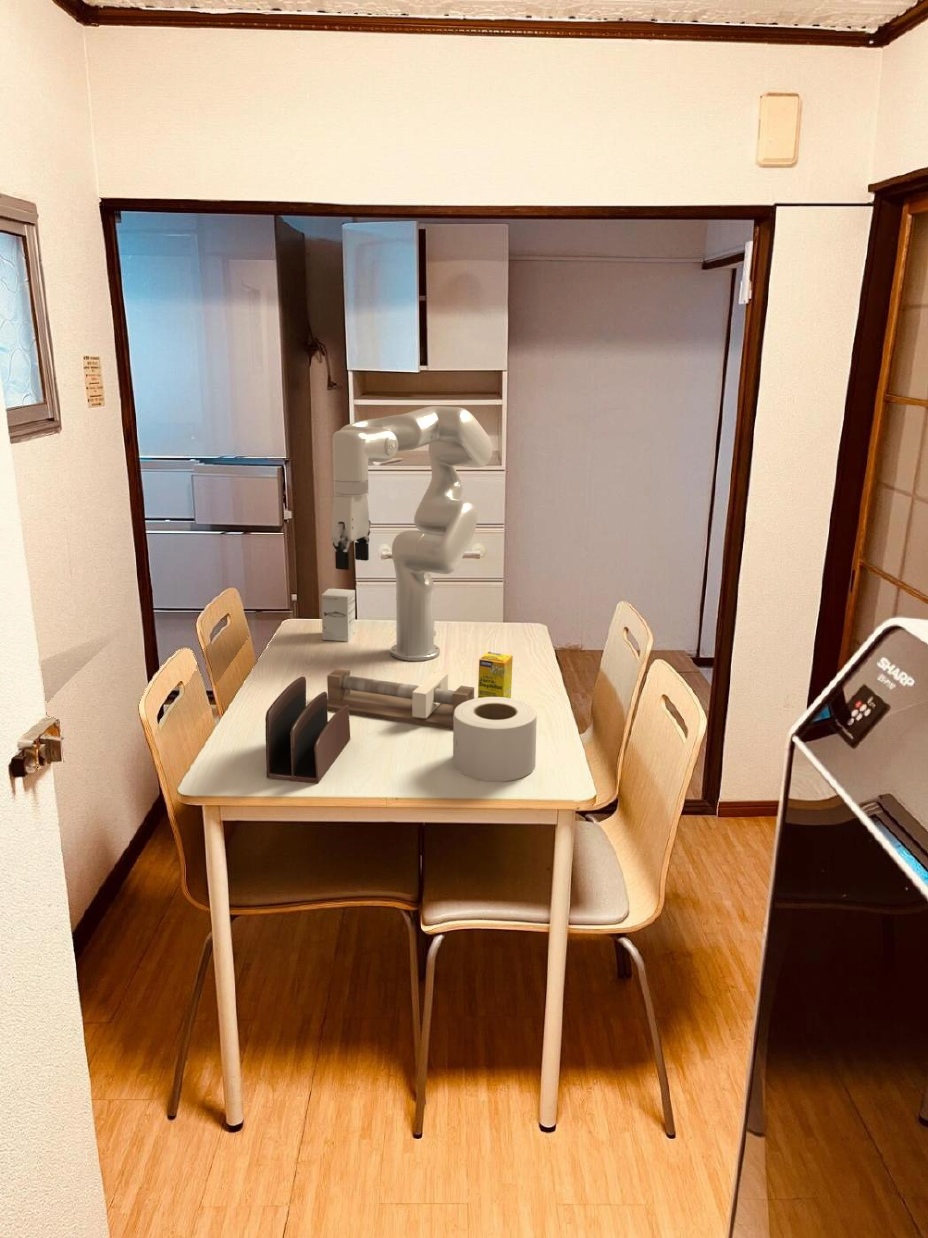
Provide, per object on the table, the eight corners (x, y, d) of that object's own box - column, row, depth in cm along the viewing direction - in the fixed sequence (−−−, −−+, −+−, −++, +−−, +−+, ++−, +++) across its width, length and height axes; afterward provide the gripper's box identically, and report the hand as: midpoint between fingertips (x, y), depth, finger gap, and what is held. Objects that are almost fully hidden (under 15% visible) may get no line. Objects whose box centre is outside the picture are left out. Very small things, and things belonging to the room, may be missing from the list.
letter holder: (266, 779, 166) (262, 707, 162) (303, 735, 185) (301, 669, 181) (318, 785, 165) (316, 712, 161) (351, 740, 183) (349, 673, 179)
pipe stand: (345, 690, 209) (344, 663, 207) (478, 710, 199) (479, 681, 197) (320, 709, 198) (319, 680, 196) (460, 731, 188) (461, 701, 186)
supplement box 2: (477, 706, 201) (478, 659, 198) (486, 697, 207) (487, 650, 204) (503, 710, 199) (504, 662, 196) (511, 700, 205) (513, 654, 202)
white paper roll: (446, 778, 168) (447, 723, 165) (461, 743, 182) (462, 693, 179) (531, 786, 165) (533, 730, 162) (539, 750, 180) (541, 699, 177)
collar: (434, 695, 202) (434, 672, 201) (447, 696, 201) (447, 673, 200) (412, 716, 190) (412, 692, 189) (425, 718, 190) (426, 694, 188)
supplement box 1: (321, 640, 244) (320, 594, 240) (330, 632, 251) (328, 587, 247) (348, 642, 243) (347, 596, 239) (356, 634, 250) (355, 589, 246)
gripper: (352, 481, 209) (354, 555, 214) (316, 492, 194) (319, 571, 199) (383, 483, 207) (383, 558, 212) (349, 494, 191) (350, 574, 196)
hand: (352, 564), depth 205 cm, fingers open, 9 cm apart
